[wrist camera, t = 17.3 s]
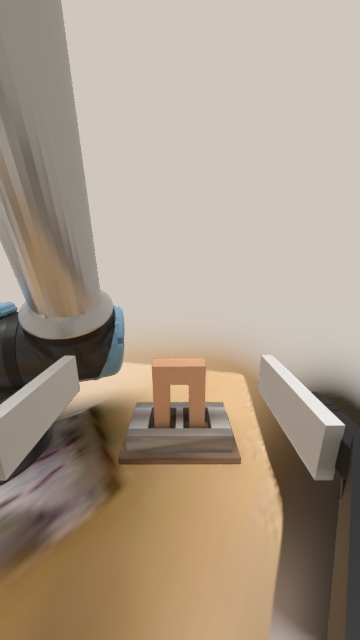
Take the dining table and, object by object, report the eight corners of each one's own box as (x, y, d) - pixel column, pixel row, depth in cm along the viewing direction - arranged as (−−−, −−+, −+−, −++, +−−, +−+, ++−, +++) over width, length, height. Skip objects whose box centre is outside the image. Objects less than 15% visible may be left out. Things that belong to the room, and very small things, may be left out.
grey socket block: (240, 463, 30) (241, 441, 29) (119, 463, 31) (116, 441, 30) (226, 416, 40) (227, 398, 39) (134, 417, 40) (132, 399, 39)
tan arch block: (204, 439, 33) (205, 366, 30) (155, 439, 34) (151, 366, 31) (202, 426, 36) (203, 358, 33) (157, 426, 36) (154, 358, 33)
